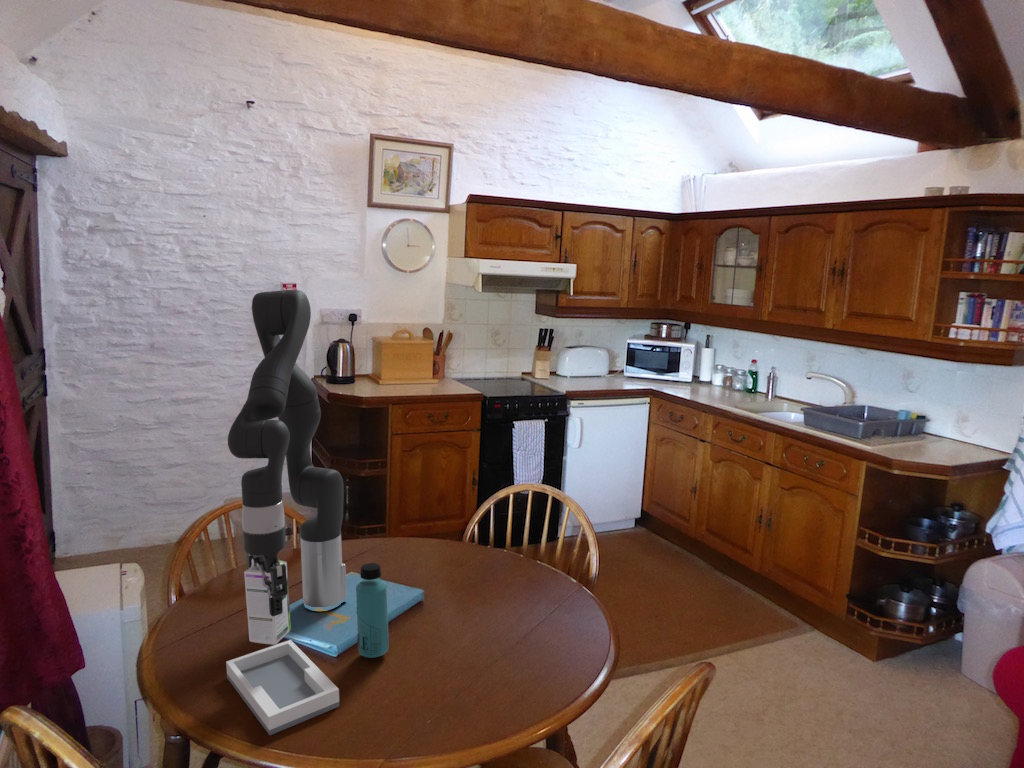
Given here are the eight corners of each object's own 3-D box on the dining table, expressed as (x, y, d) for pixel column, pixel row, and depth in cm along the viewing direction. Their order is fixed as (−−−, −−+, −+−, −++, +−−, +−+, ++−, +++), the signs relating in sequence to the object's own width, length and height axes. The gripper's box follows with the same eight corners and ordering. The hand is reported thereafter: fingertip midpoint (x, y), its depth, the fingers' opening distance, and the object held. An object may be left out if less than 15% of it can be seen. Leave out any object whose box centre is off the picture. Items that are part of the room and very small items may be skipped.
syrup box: (276, 645, 134) (272, 573, 131) (247, 642, 135) (243, 570, 132) (291, 630, 139) (288, 560, 137) (264, 627, 140) (260, 557, 138)
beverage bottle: (395, 651, 150) (393, 561, 146) (379, 668, 143) (376, 574, 140) (367, 645, 152) (365, 556, 148) (351, 662, 145) (348, 569, 142)
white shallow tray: (291, 655, 148) (290, 639, 147) (339, 706, 131) (338, 688, 130) (227, 678, 140) (226, 661, 139) (269, 735, 123) (268, 717, 122)
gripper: (298, 531, 130) (302, 614, 133) (269, 510, 141) (273, 587, 144) (257, 541, 126) (262, 627, 128) (230, 518, 136) (235, 598, 139)
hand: (268, 606), depth 136 cm, fingers closed on syrup box, 7 cm apart
